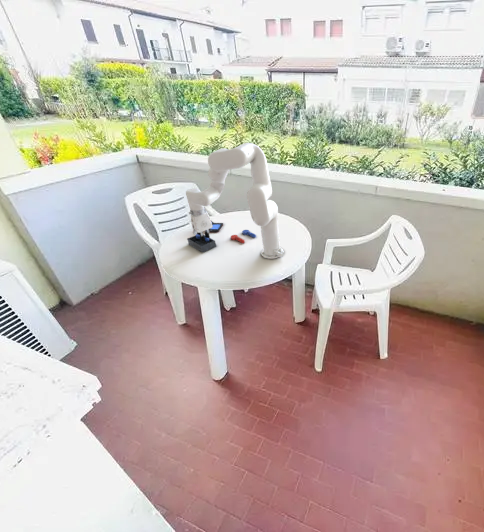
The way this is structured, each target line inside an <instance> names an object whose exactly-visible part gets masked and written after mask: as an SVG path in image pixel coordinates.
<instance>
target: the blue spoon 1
mask: <svg viewBox="0 0 484 532" xmlns="http://www.w3.org/2000/svg"><path fill="white" fill-rule="evenodd" d="M194 236H196V238H197V239H200V235H198V234H194ZM204 237H205V236H204ZM205 241H207V242H208V241H209V238H207V237H205Z"/></svg>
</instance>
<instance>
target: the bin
mask: <svg viewBox="0 0 484 532" xmlns="http://www.w3.org/2000/svg"><path fill="white" fill-rule="evenodd" d="M203 235H204V236H205V234H203ZM186 240H187V244H188V246H191V247H192V248H194V249H196V250H197V251H199V252H201V254H202V253H205V252H208V251H210V250H212V249H214V248H217V243H216V240H215V239H213V238H211V237H210V240H209V241H208V242H207V241H205V242H204V241H202V240H201V238H200V239H197V238H196V236H195V235H193V236H190V237H188V238H186Z"/></svg>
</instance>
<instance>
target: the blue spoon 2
mask: <svg viewBox="0 0 484 532" xmlns="http://www.w3.org/2000/svg"><path fill="white" fill-rule="evenodd" d="M241 233H242V235H244V236H249V237H251V238H256V237H257V234H255V233H253V232H251V231H250V230H249V229H243V230H242V232H241Z"/></svg>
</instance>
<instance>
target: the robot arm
mask: <svg viewBox="0 0 484 532" xmlns="http://www.w3.org/2000/svg"><path fill="white" fill-rule="evenodd" d="M207 164H208V166H209V169H208V171H207V176H208V178H209V179H210V180H211V181H210V183H209V185H208V187H206V188H205V189H203V190H200V189H199V188H197V187H196V188H193V187H192V188H189V189H187V190H186V191H185V196H186V200H187V203H188V207H189V210H190V211H189V212H188V215H190V223H191V228H192V234H193V235H196V234H198V235H200V238H201V240H202V241H204V242H205V237H207V238H209V240H210V238H211V237H210V232H209V231H210V229H211V228H212V227H213V226H212V222H213V221H212V219H211V217H210V215H209V213H208V211H207V210H206V207H208V206H210V205H211V204H213V203H214V202H215V201H217V200H218V199H219V198H221V195H222V193H223V192H224V189H225V185H226V181H225V180H226V178H227V176H228V174H229V173H230V171H231V170H236V169H240V168H243V167H245V166H247V165H249V164H250V175H251V181H252V185H251V186H250V187H249V188H248V190H247V192H246V193H247V194H246V200H247V205H248V209H249V212H250V216H251V220H252V221H253V223H254V224H255V225H257V226H259V227H260V233H261V242H262V247H263V249H262V250H261V251H260V253H261V254H260V255H261V256H262V258H265V259H269V260H274V259H278V258H282V257H283V256H284V254H285V251H284V249H283V248H282V247H281V243H280V242H281V241H280V240H281V239H280V231H279V208H278V205H277V203H276V202H275V201H274V200H272V199H270V198H271V197H272V195H273V188H272V182H271V177H270V172H269V167H268V161H267V157H266V155H265V152H264V150H262V148H261V147H260V146H258V145H257V144H255V143H253V142H244V143H242V144H239V145H238V146H236V147H234V148H229V149H228V148H226V147H224V148H223V147H222V148H219V149H217V150H214V151H212V152H211V153H210V154H209V155H208V157H207ZM211 221H212V222H211ZM203 232H204V234H203ZM204 235H205V237H204Z"/></svg>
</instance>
